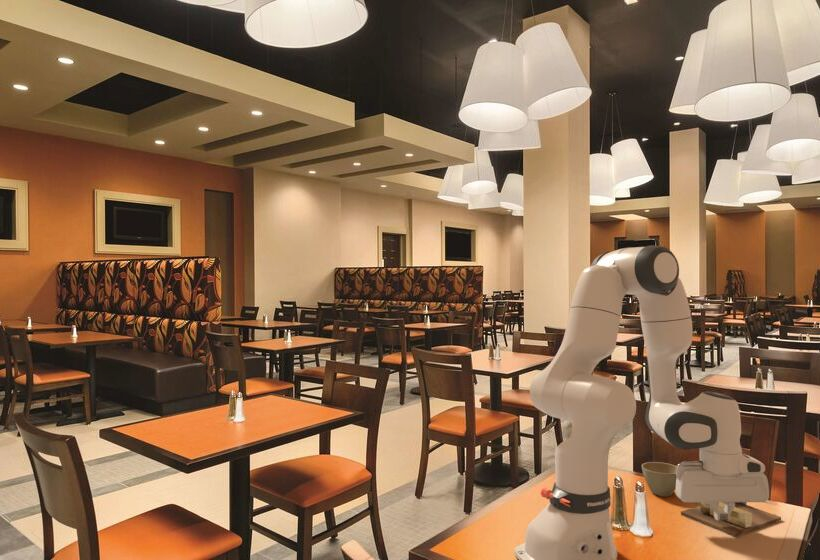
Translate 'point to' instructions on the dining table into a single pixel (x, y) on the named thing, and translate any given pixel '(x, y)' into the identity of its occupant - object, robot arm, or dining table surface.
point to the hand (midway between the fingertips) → (722, 519)
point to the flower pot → (660, 477)
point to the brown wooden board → (758, 521)
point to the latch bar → (736, 515)
